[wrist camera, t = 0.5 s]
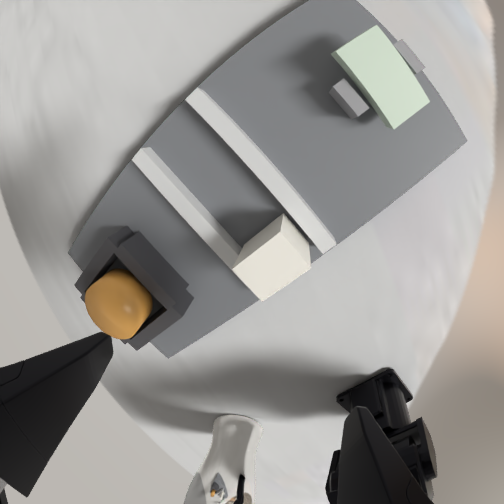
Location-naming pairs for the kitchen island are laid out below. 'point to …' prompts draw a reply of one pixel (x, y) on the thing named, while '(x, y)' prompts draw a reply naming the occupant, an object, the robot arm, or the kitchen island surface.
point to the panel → (258, 171)
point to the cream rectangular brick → (273, 258)
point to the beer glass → (228, 464)
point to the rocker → (382, 76)
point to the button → (118, 303)
